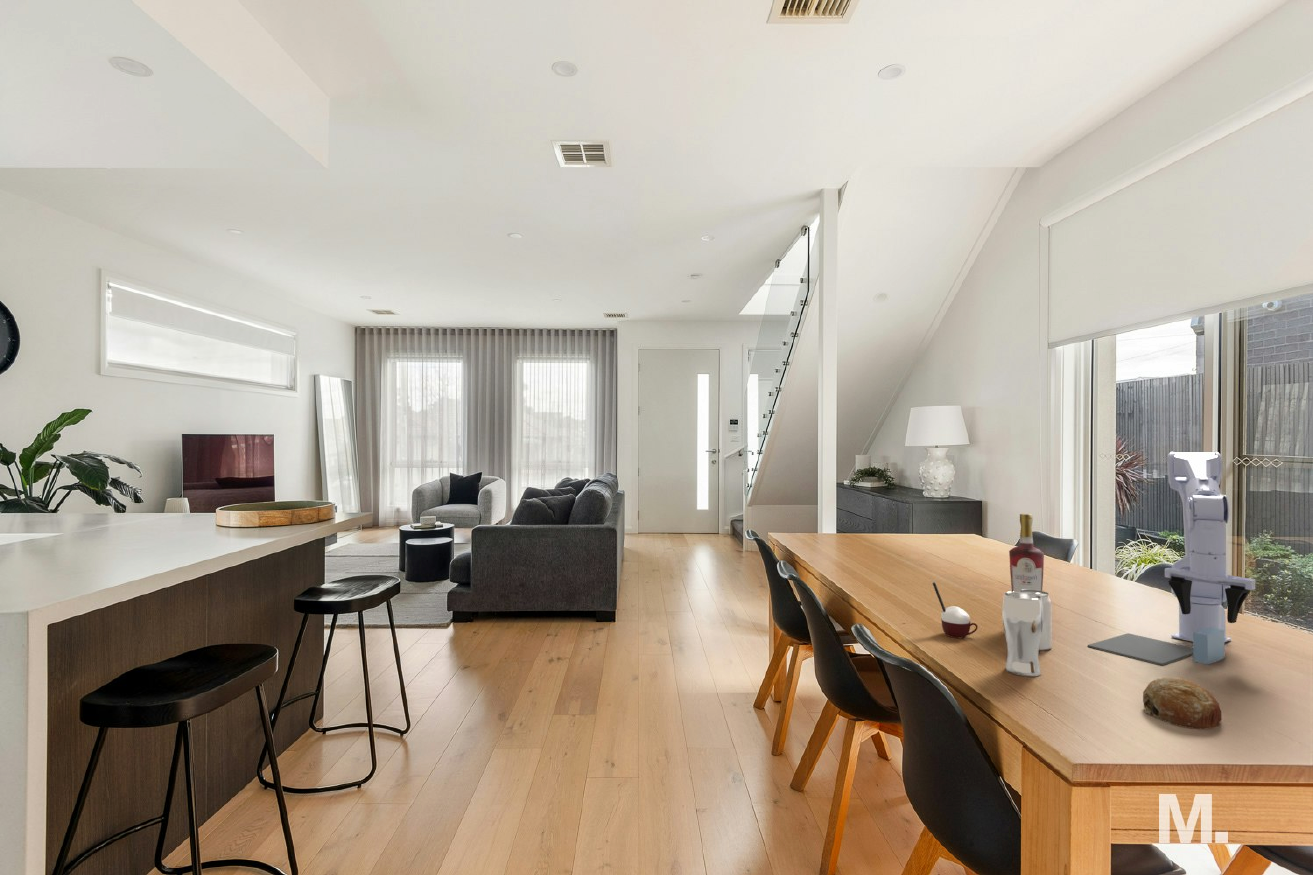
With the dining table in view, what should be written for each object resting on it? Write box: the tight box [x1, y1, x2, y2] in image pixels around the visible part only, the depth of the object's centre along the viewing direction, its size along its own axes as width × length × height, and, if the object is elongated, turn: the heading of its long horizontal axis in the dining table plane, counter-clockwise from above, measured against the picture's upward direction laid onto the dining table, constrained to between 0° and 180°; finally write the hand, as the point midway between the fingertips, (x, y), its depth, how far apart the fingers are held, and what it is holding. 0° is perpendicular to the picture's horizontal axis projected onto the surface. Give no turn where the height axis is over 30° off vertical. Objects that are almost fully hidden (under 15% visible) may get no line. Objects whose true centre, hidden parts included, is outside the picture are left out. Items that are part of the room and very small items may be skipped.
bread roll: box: [1142, 677, 1222, 730], centre depth 104 cm, size 10×10×8 cm
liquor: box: [1008, 513, 1045, 592], centre depth 154 cm, size 7×7×28 cm
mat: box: [1087, 632, 1193, 666], centre depth 139 cm, size 18×14×1 cm
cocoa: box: [932, 581, 978, 639], centre depth 149 cm, size 10×6×12 cm, turn 41°
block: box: [1192, 627, 1226, 665], centre depth 132 cm, size 8×3×6 cm, turn 120°
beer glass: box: [1002, 591, 1043, 678], centre depth 125 cm, size 7×7×15 cm
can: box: [1020, 590, 1052, 651], centre depth 141 cm, size 6×6×12 cm
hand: (1208, 617), depth 132 cm, fingers open, 7 cm apart
